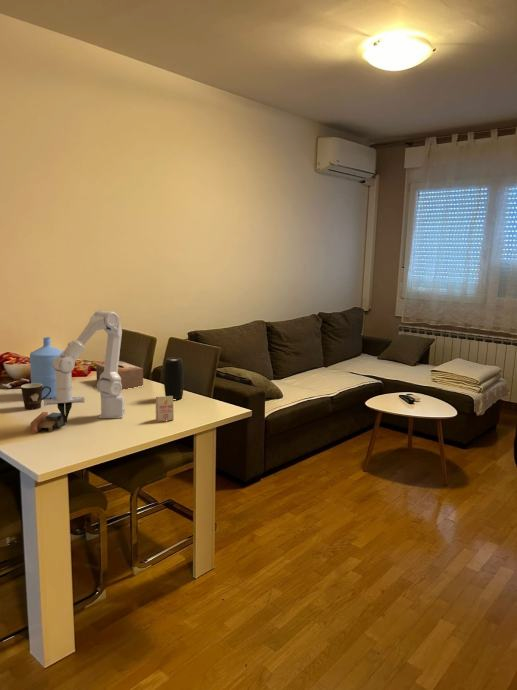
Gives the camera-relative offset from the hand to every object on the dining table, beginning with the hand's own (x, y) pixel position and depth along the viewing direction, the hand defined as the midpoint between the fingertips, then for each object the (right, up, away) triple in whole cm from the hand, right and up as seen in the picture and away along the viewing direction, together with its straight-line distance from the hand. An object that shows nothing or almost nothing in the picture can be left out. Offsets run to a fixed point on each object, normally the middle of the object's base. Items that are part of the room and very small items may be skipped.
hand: (65, 421), depth 193 cm
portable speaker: (+35, +4, +45) cm, 57 cm away
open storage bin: (-4, -2, +1) cm, 5 cm away
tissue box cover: (+1, +8, +73) cm, 73 cm away
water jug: (-26, +5, +47) cm, 54 cm away
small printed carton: (+36, -1, +11) cm, 38 cm away
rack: (-7, -2, 0) cm, 7 cm away
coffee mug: (-23, +2, +26) cm, 34 cm away
